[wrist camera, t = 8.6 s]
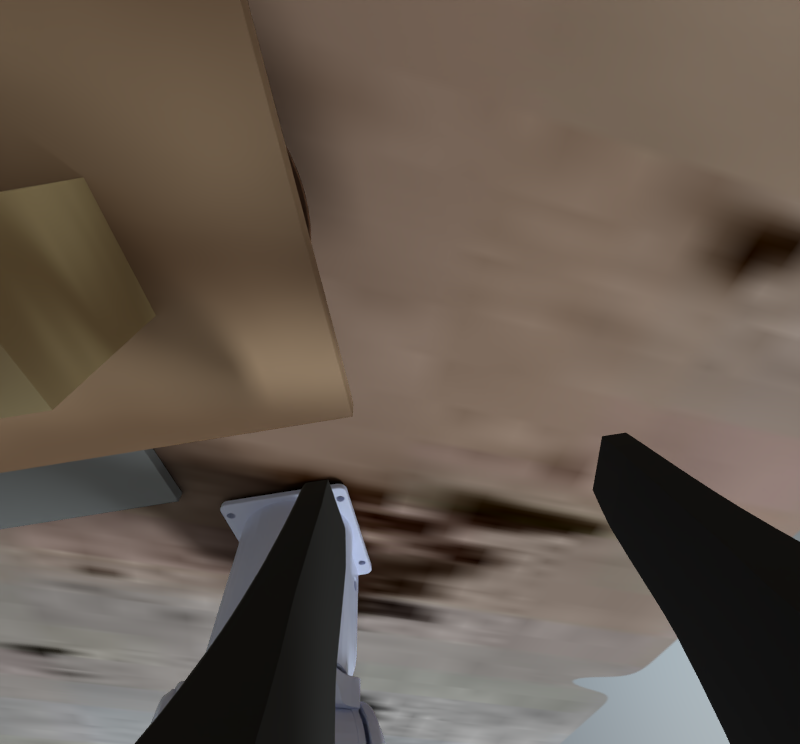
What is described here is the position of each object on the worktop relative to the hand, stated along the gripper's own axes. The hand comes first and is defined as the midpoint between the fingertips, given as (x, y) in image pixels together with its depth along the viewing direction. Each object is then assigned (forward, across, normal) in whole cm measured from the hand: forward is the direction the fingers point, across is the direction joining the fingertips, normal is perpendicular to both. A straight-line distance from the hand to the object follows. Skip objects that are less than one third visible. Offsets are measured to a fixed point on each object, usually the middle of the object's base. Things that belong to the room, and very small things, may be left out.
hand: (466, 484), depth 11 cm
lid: (+4, +10, -6) cm, 13 cm away
